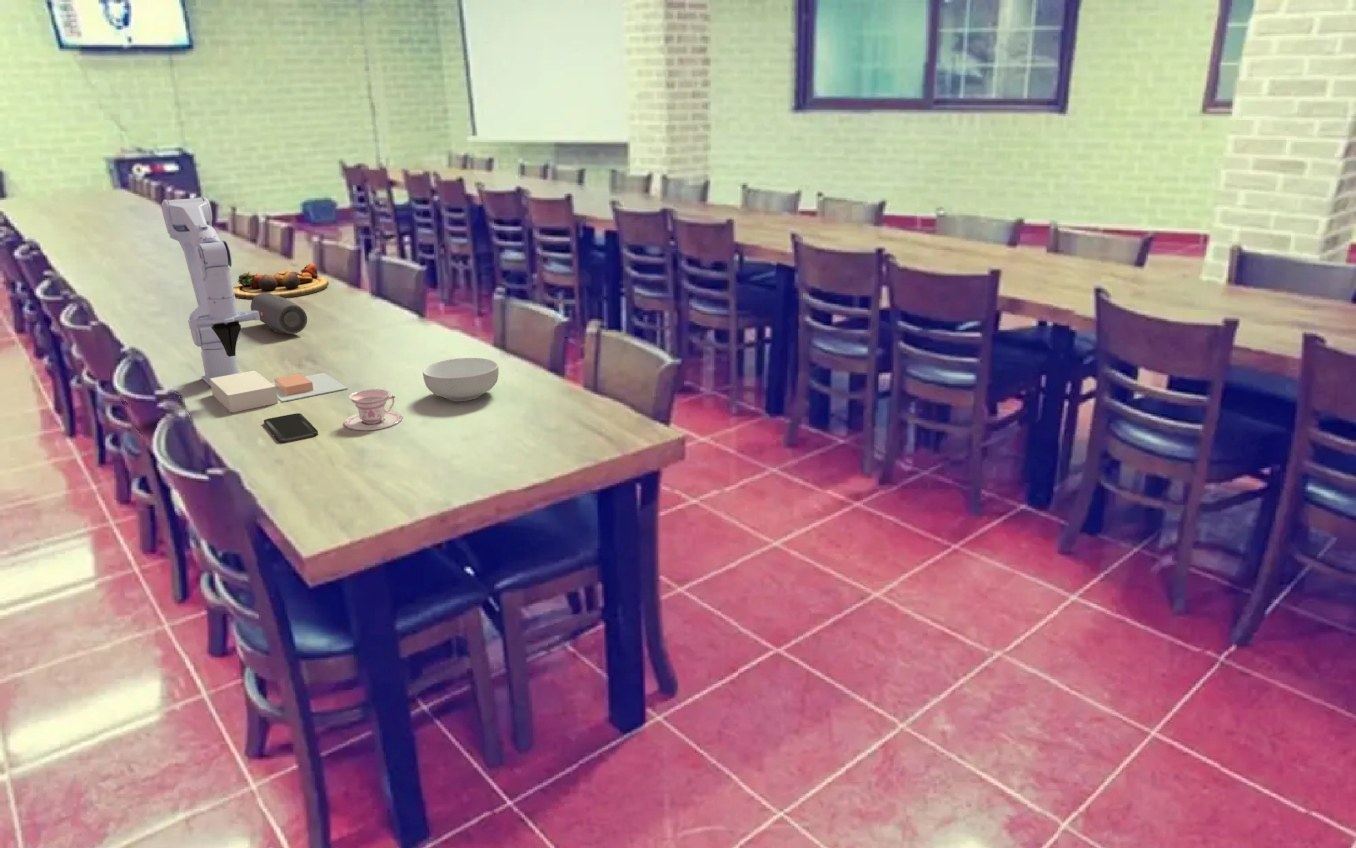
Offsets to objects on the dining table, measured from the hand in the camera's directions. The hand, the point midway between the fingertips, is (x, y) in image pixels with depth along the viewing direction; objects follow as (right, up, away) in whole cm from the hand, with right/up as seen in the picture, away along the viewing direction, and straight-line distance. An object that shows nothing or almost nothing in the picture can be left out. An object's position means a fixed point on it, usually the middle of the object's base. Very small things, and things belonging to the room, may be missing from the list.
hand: (231, 355), depth 212 cm
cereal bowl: (+52, -9, +3) cm, 53 cm away
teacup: (+36, -15, -12) cm, 42 cm away
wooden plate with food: (-38, +31, +115) cm, 125 cm away
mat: (+13, -7, +10) cm, 18 cm away
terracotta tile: (+11, -5, +8) cm, 14 cm away
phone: (+21, -17, -16) cm, 32 cm away
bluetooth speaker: (-15, +12, +61) cm, 64 cm away
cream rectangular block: (+2, -10, +2) cm, 10 cm away
